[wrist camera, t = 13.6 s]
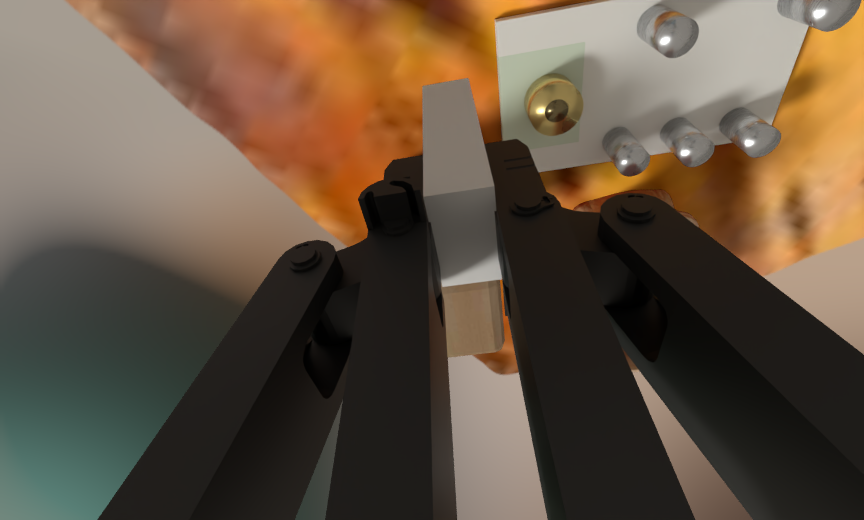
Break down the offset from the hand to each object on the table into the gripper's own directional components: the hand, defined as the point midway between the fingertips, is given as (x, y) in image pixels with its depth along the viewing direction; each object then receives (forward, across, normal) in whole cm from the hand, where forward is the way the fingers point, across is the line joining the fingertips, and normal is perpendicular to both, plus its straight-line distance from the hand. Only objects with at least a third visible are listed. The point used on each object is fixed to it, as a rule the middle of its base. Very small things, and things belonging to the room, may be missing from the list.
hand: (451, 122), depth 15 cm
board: (+29, +19, -12) cm, 37 cm away
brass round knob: (+28, +10, -12) cm, 32 cm away
